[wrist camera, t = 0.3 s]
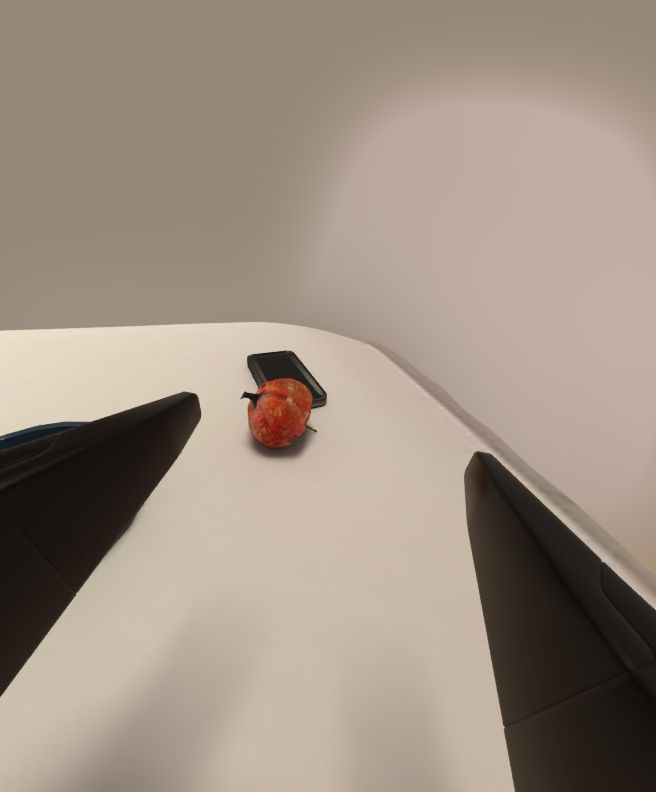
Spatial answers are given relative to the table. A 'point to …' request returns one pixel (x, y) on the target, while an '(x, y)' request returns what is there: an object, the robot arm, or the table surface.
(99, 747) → the table surface
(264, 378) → the phone
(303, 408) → the pomegranate
